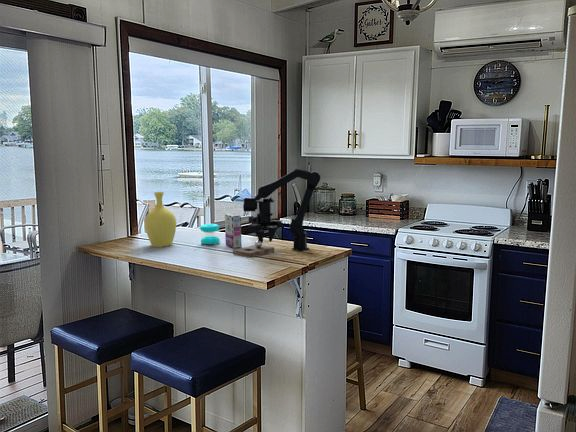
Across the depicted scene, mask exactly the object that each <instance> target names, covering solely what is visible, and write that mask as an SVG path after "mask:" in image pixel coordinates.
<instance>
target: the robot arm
mask: <svg viewBox="0 0 576 432" xmlns="http://www.w3.org/2000/svg"><path fill="white" fill-rule="evenodd" d="M297 178H300V179H303V180H305V181H307V183H306V189H305V192H304V194H303V197H302V199H301V203H300V206H299V208H298V211H297V213H296V216H295V217H293V216H292V217H291V221H290V223H289V227H288V228H289V231H290V233H291V234H292V235H293V236H294V237H293V247H292V248H291V250H293V251H299V252H303V251H306V250H309V249H310V247H308V241H307V239H308V237H307V231H306V230H305V228H304V227H303V225H304V224H303V223H304V220H305V219H304V218H305V215H306V212H307V210H308V207H309V204H310V202H311V200H312V197H313V193H314V191H315V189H316V188H317V187H318V185H319V183H320V181H321V174H320V172H318V171H316V170H314V171H308V170H303V169H300V168H295V169H294V170H293V171H291V172H289V173H287V174H285V175H284V176H282V177H279V178H278V179H277V180H275V181H272V182H270V183H266V184H264V185H261V186H260V187H259V189H258V190H257V195H255V197H244V198H243V206H242V208H243V212H247V213H248V212H252V213H253V212H256V211H257V210H258V213H257V214H256V216H255V217H254V216H253V215H251V216H248V223H249V224H248V226H247V231H250V232H254V234H256V237H257V239H258V240H259V241H261V242H262V244H263V241H264V237H265V236H264V235H265V230H263V229H264V228H266V229H267V231H268V240H269V242H270V243H272V241H273V239H274V236H275V234H276V233H277V231H278V229H279V228H280V227H282V226H283V222H282V220H281V219H280V220H279V219H272V216H273V214H274V213H272V212H271V210H272V209H271V208H272V206H271V203H274V202H275V200H274V199H273V198H272V197H269V196H270V195H271V194H274V192H276V191H277V190H278V189H279V188H281V187H283V186H284V185H287V184H288V183H290V182H291V181H293V180H295V179H297ZM268 197H269V198H268ZM261 199H263V200H261Z"/></svg>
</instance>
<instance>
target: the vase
mask: <svg viewBox="0 0 576 432" xmlns="http://www.w3.org/2000/svg"><path fill="white" fill-rule="evenodd" d="M153 193H154V197H155V198H156V199H155V200H156V205H155V207H154V208H153V209H152V210H150V211H149V212H148V213H147V214H146V215H145V220H144V229H145V231H146V235H147V237H148V239H149V240H148V241H149V243H150V245H151V246H152V247H153V246H154V247H155V248H163V246H166V247H170V246H172V245H173V242H174V239H175V235H176V230H177V219H176V216H175V214H174V213H173V212H172V211H171V210H169V209H168V208H167V207H165V205H164V204H163V196H164V191H156V192H153ZM169 245H170V246H169ZM154 247H153V248H154Z"/></svg>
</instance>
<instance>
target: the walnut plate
mask: <svg viewBox="0 0 576 432" xmlns="http://www.w3.org/2000/svg"><path fill="white" fill-rule="evenodd" d="M274 252H275V247H273V246H267V245H262V246H261V247H259V248H257V247H256V246H255V244H253V245H249V246H245V247H241V248H234V249H232V255H234V256H239V257H240V256H241V257H246V258H249V259H250V258H254V257H258V256H262V255H267V254H270V253H274Z"/></svg>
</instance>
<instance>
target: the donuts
mask: <svg viewBox="0 0 576 432" xmlns="http://www.w3.org/2000/svg"><path fill="white" fill-rule="evenodd" d="M199 229H200V231H201V232H203V233H215V232H218V230H220V226H219V224H217V223H205V224H204V223H203V224H202V225H201V226H200V227H199ZM220 242H221V240H220V238H219V237H218V236H215V235H207V236H204V237H202V238H201V239H200V243H201V244H202V245H204V244H214V245H217V243H218V244H219V243H220Z"/></svg>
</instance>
